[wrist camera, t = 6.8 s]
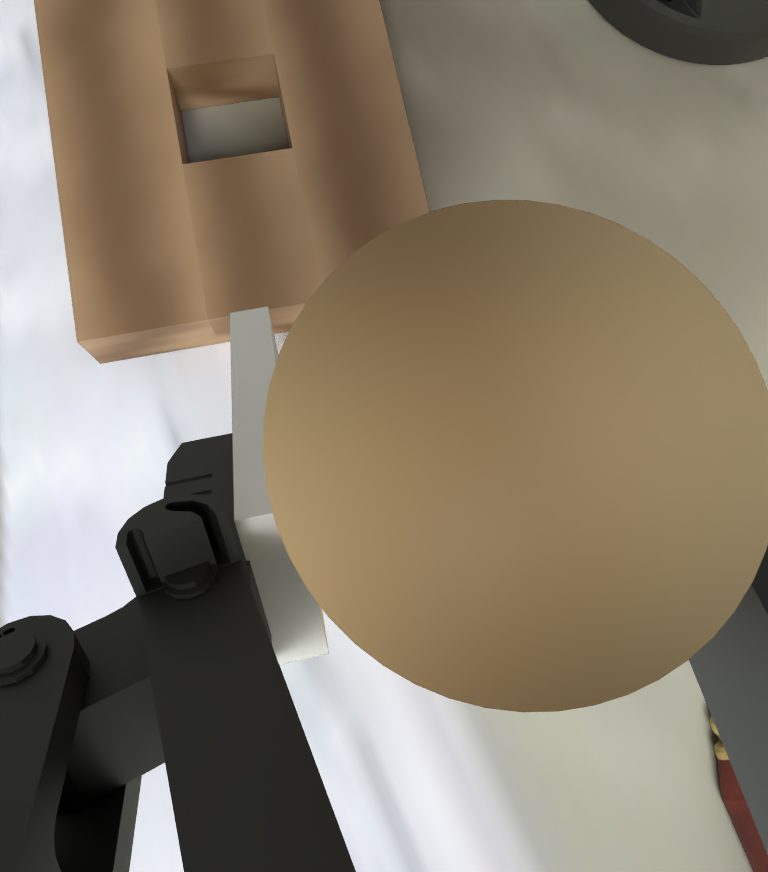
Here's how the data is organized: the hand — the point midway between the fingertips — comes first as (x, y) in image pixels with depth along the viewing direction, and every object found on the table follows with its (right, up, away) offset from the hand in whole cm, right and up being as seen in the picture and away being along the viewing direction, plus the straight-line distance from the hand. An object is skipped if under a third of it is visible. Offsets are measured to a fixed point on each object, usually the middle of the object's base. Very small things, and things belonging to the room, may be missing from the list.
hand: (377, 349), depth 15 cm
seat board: (-7, +13, +21) cm, 25 cm away
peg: (0, -5, +4) cm, 6 cm away
